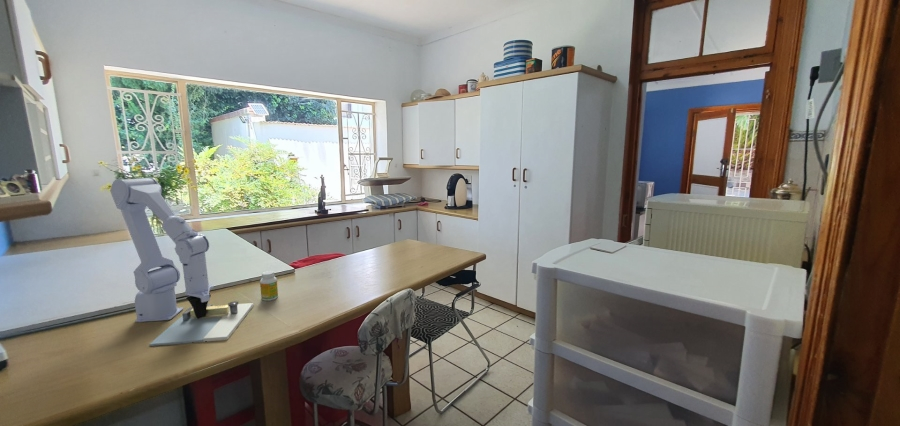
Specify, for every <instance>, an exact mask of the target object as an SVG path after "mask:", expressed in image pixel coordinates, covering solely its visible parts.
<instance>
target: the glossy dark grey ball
mask: <svg viewBox="0 0 900 426" xmlns="http://www.w3.org/2000/svg"><path fill="white" fill-rule="evenodd" d="M238 304H239V301H236V300H235V301H231V302H228V304H227V305H228V306H230V314H231V315H234V314H237V313H238V309H237V305H238Z"/></svg>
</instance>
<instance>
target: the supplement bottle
mask: <svg viewBox="0 0 900 426" xmlns="http://www.w3.org/2000/svg"><path fill="white" fill-rule="evenodd" d="M259 284H260V286H259V287H260V296H261V297H260V298H261V300H262V301H264V302H265V301H273V300H276V299H277V298H278V297H279V293H278V292H279V291H278V279H277V277H276V276H275V271H274V270H266V271H263V272H261V279H260V280H259Z"/></svg>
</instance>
